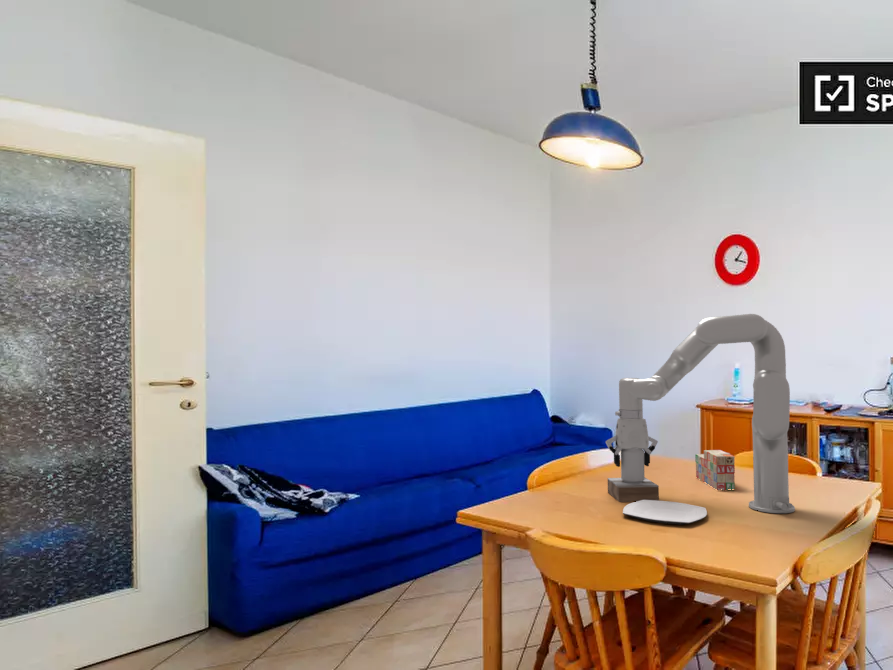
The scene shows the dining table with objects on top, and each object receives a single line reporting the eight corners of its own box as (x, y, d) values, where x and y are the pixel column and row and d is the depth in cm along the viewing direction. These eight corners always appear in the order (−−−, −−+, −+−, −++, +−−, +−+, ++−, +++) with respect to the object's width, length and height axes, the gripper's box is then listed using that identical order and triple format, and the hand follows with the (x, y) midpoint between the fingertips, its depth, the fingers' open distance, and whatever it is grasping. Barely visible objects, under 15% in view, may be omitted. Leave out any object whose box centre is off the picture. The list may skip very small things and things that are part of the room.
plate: (638, 503, 202) (638, 497, 202) (714, 513, 189) (714, 507, 189) (613, 519, 184) (613, 513, 184) (695, 532, 170) (695, 525, 170)
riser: (658, 501, 203) (658, 485, 204) (619, 501, 203) (618, 486, 203) (645, 491, 216) (644, 477, 217) (607, 492, 216) (607, 478, 216)
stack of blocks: (695, 478, 238) (694, 445, 238) (712, 478, 238) (711, 445, 238) (716, 491, 217) (716, 455, 217) (735, 491, 216) (734, 455, 217)
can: (618, 479, 214) (618, 444, 214) (641, 479, 213) (640, 443, 214) (624, 484, 206) (623, 447, 206) (647, 484, 206) (646, 447, 206)
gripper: (608, 416, 206) (609, 468, 206) (660, 415, 207) (661, 467, 206) (602, 413, 214) (603, 464, 214) (652, 413, 214) (653, 463, 214)
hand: (632, 465), depth 210 cm, fingers open, 9 cm apart
